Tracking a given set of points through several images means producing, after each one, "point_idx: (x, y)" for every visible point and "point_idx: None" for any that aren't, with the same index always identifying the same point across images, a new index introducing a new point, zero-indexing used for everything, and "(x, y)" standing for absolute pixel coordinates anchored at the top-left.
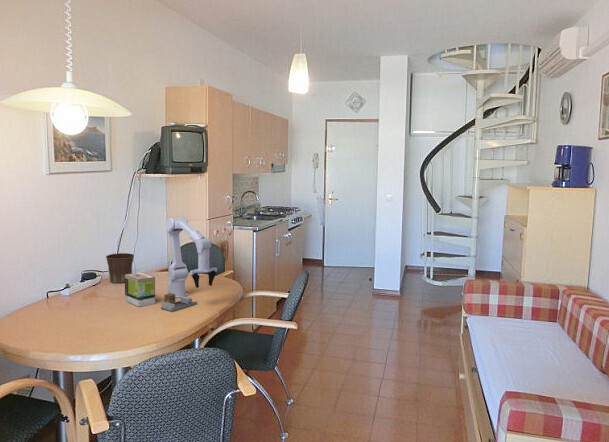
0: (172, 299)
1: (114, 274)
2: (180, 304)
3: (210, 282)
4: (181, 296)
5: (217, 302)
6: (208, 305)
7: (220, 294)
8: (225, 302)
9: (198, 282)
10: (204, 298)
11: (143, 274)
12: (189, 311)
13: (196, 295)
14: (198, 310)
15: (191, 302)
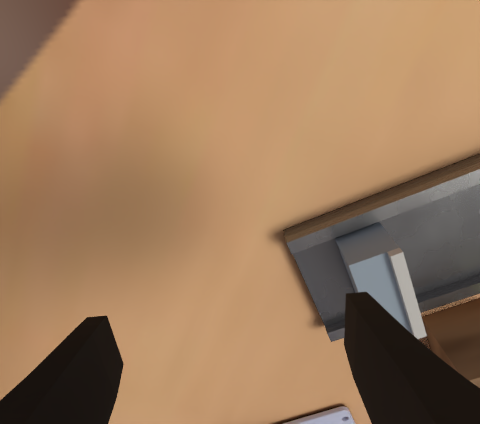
0: (474, 337)
1: None
2: (434, 250)
3: (86, 375)
4: (419, 336)
5: (90, 199)
6: (200, 148)
7: (22, 373)
8: (10, 164)
9: (402, 362)
10: (170, 337)
11: None
12: (456, 42)
13: (203, 410)
14: (360, 28)
15: (344, 239)
